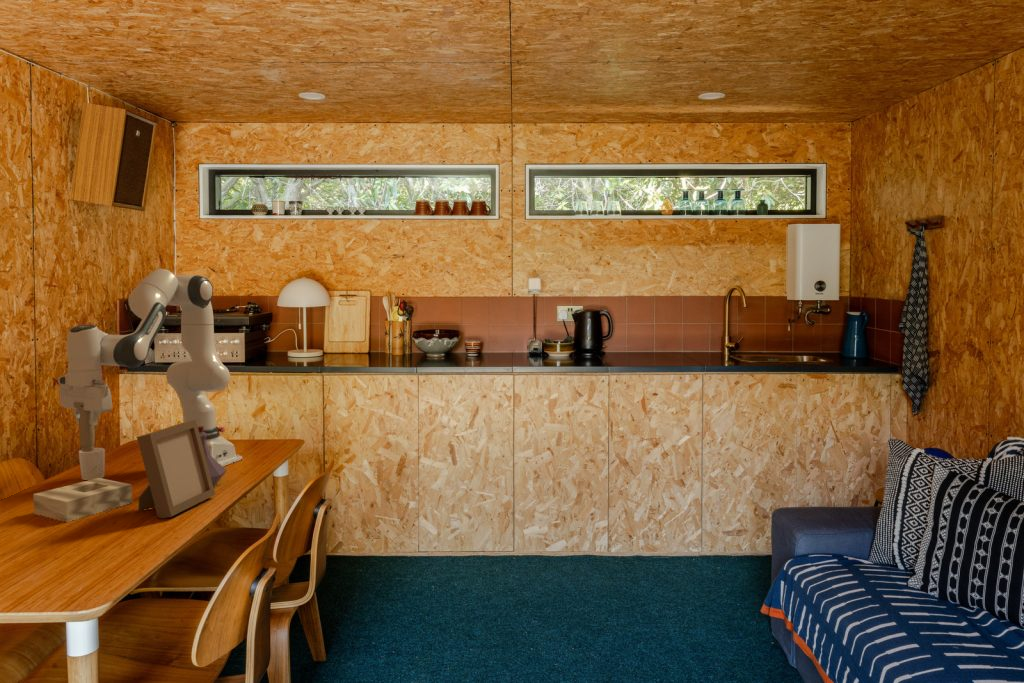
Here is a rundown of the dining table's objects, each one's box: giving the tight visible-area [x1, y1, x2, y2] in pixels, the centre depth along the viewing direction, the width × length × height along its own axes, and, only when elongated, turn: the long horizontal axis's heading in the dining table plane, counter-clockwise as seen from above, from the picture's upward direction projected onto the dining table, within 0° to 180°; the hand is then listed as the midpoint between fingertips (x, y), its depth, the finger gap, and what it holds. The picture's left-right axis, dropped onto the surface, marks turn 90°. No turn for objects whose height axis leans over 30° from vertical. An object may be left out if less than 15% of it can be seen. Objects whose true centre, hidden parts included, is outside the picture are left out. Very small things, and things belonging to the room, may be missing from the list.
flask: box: [198, 426, 228, 487], centre depth 244 cm, size 16×16×20 cm
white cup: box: [78, 447, 106, 481], centre depth 252 cm, size 8×8×10 cm
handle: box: [74, 402, 96, 452], centre depth 219 cm, size 5×6×15 cm
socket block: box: [32, 478, 133, 523], centre depth 219 cm, size 20×16×6 cm
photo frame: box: [136, 420, 216, 519], centre depth 220 cm, size 15×22×25 cm
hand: (86, 424), depth 219 cm, fingers closed on handle, 5 cm apart
